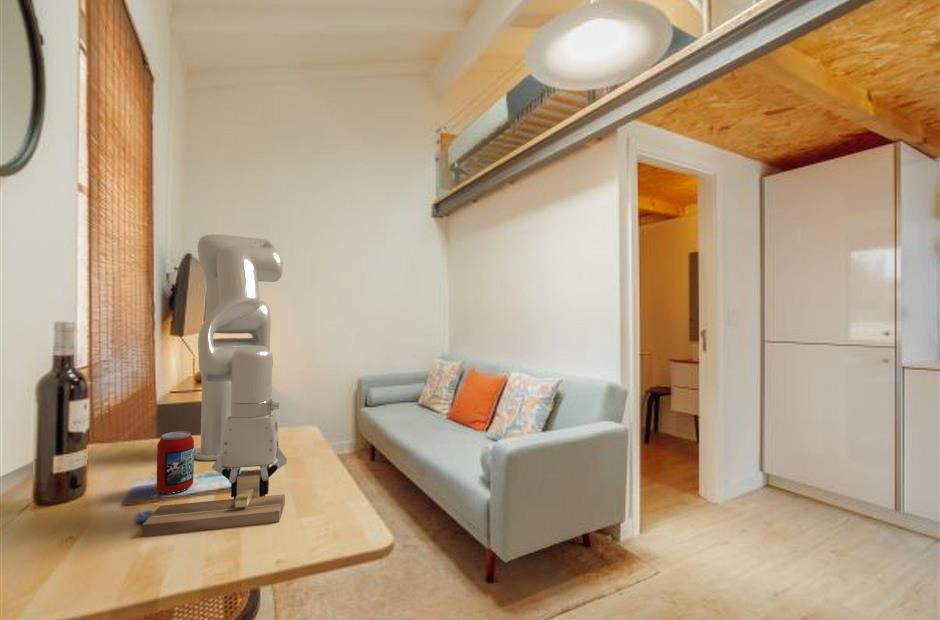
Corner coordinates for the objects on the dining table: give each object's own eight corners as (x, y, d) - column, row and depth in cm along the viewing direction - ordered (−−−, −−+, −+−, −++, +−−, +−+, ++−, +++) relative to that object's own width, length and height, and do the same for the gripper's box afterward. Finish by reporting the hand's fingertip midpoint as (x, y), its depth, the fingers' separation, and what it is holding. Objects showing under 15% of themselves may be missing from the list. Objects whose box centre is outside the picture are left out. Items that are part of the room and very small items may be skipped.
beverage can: (175, 496, 94) (176, 439, 94) (148, 494, 95) (149, 437, 95) (200, 485, 101) (201, 431, 101) (175, 482, 102) (176, 429, 102)
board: (160, 516, 85) (160, 505, 85) (284, 504, 91) (284, 494, 91) (142, 536, 77) (142, 524, 77) (279, 521, 83) (279, 510, 83)
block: (241, 500, 93) (241, 469, 93) (262, 498, 94) (262, 468, 94) (228, 520, 83) (229, 486, 83) (252, 518, 84) (253, 484, 84)
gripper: (297, 404, 98) (295, 488, 97) (211, 407, 93) (209, 495, 93) (292, 411, 90) (291, 502, 90) (199, 415, 86) (198, 511, 86)
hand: (250, 498), depth 92 cm, fingers closed on block, 4 cm apart
